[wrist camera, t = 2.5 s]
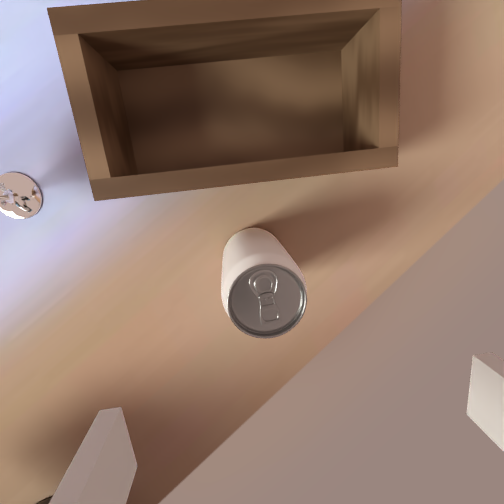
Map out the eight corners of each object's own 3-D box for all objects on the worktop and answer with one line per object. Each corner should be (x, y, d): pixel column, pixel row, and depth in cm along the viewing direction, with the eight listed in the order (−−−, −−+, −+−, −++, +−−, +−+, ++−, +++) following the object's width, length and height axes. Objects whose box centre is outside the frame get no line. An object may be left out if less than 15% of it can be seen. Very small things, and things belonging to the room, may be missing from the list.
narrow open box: (354, 168, 30) (397, 166, 23) (129, 193, 29) (94, 201, 21) (352, 34, 27) (402, -21, 19) (100, 57, 26) (46, 7, 18)
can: (276, 221, 31) (306, 248, 20) (286, 277, 33) (318, 333, 21) (216, 233, 31) (210, 268, 19) (229, 289, 33) (231, 352, 21)
